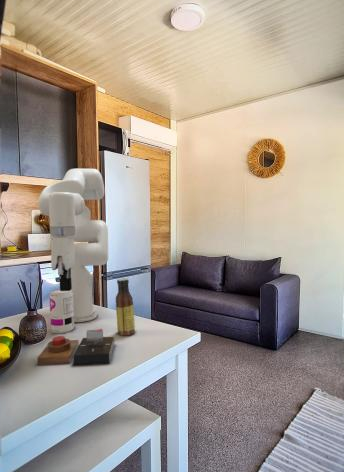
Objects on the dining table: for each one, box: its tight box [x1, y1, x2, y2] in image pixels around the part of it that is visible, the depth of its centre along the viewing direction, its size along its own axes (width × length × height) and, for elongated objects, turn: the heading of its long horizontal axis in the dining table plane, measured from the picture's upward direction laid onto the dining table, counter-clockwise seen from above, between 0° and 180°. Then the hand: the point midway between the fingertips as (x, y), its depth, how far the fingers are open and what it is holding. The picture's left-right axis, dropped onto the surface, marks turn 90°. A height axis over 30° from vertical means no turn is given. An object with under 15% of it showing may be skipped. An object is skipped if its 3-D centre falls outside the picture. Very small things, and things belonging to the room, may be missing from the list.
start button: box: [52, 335, 66, 345], centre depth 94 cm, size 4×4×2 cm
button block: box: [36, 338, 80, 366], centre depth 94 cm, size 12×9×4 cm
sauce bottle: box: [115, 277, 136, 336], centre depth 111 cm, size 7×6×20 cm
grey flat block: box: [86, 328, 104, 346], centre depth 93 cm, size 5×2×5 cm, turn 94°
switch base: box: [73, 336, 115, 366], centre depth 94 cm, size 13×10×3 cm
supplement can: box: [48, 288, 75, 334], centre depth 115 cm, size 8×8×15 cm
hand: (65, 290), depth 97 cm, fingers closed
